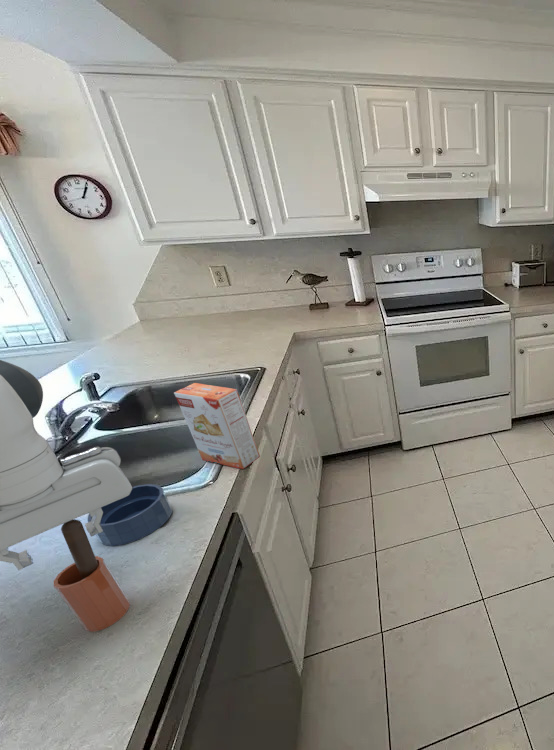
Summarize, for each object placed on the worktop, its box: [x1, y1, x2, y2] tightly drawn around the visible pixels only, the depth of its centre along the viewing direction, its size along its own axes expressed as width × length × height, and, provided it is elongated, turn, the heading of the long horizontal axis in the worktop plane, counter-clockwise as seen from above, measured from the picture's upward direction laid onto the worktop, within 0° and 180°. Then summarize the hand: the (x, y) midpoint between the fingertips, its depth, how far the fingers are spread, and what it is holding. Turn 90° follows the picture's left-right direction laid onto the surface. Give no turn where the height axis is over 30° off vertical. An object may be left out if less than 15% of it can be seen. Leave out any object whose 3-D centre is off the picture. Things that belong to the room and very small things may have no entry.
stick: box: [60, 518, 99, 580], centre depth 65 cm, size 2×2×20 cm
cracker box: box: [173, 382, 261, 470], centre depth 104 cm, size 14×6×21 cm, turn 73°
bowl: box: [87, 483, 173, 547], centre depth 87 cm, size 12×12×6 cm
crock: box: [53, 555, 131, 633], centre depth 67 cm, size 6×6×11 cm
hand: (63, 547), depth 63 cm, fingers open, 6 cm apart
